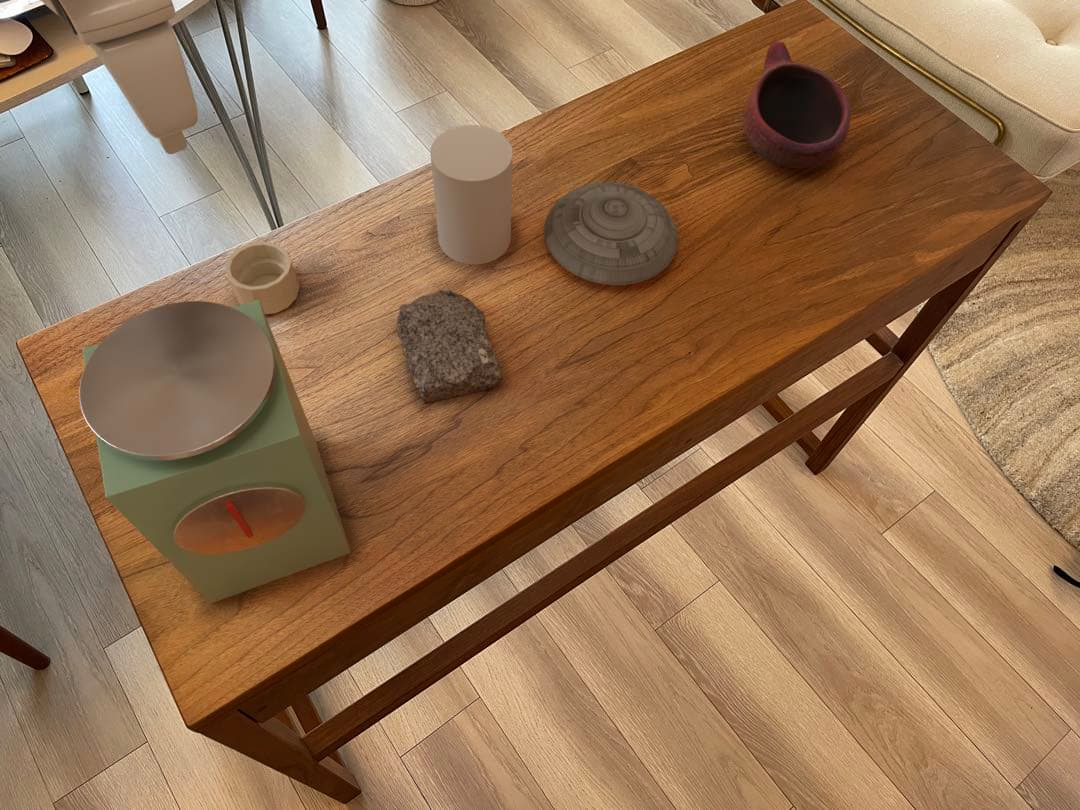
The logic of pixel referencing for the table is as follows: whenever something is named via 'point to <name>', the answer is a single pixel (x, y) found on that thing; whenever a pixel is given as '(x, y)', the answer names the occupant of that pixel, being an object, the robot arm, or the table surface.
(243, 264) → the small bowl
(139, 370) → the scale
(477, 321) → the stone
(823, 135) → the bowl
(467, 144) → the taupe round pillar
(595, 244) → the flying saucer
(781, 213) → the table surface
